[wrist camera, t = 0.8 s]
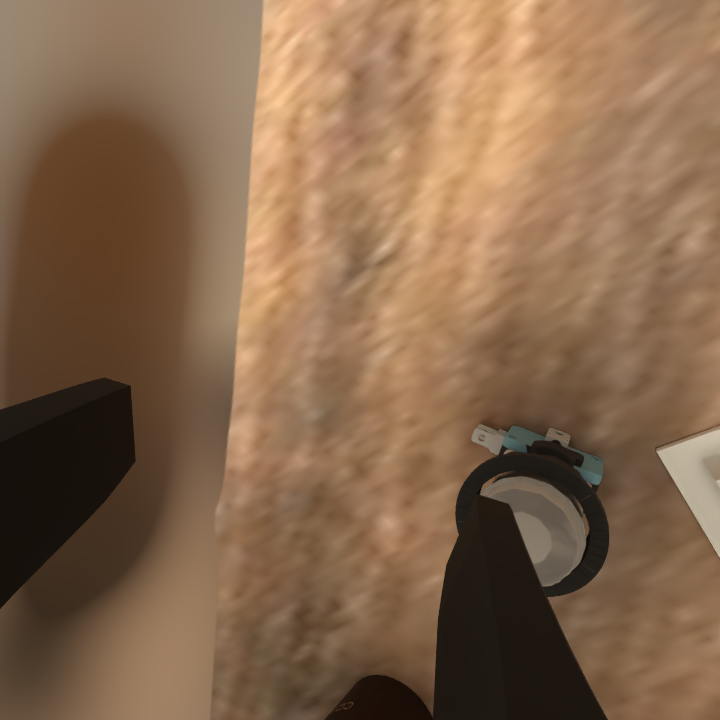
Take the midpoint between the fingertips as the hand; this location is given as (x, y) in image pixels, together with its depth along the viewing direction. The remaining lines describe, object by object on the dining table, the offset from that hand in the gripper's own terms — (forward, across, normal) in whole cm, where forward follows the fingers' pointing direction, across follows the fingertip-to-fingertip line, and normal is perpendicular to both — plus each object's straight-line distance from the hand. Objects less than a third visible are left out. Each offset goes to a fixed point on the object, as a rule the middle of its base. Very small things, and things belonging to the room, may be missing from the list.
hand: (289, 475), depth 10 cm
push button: (+16, -9, +8) cm, 20 cm away
